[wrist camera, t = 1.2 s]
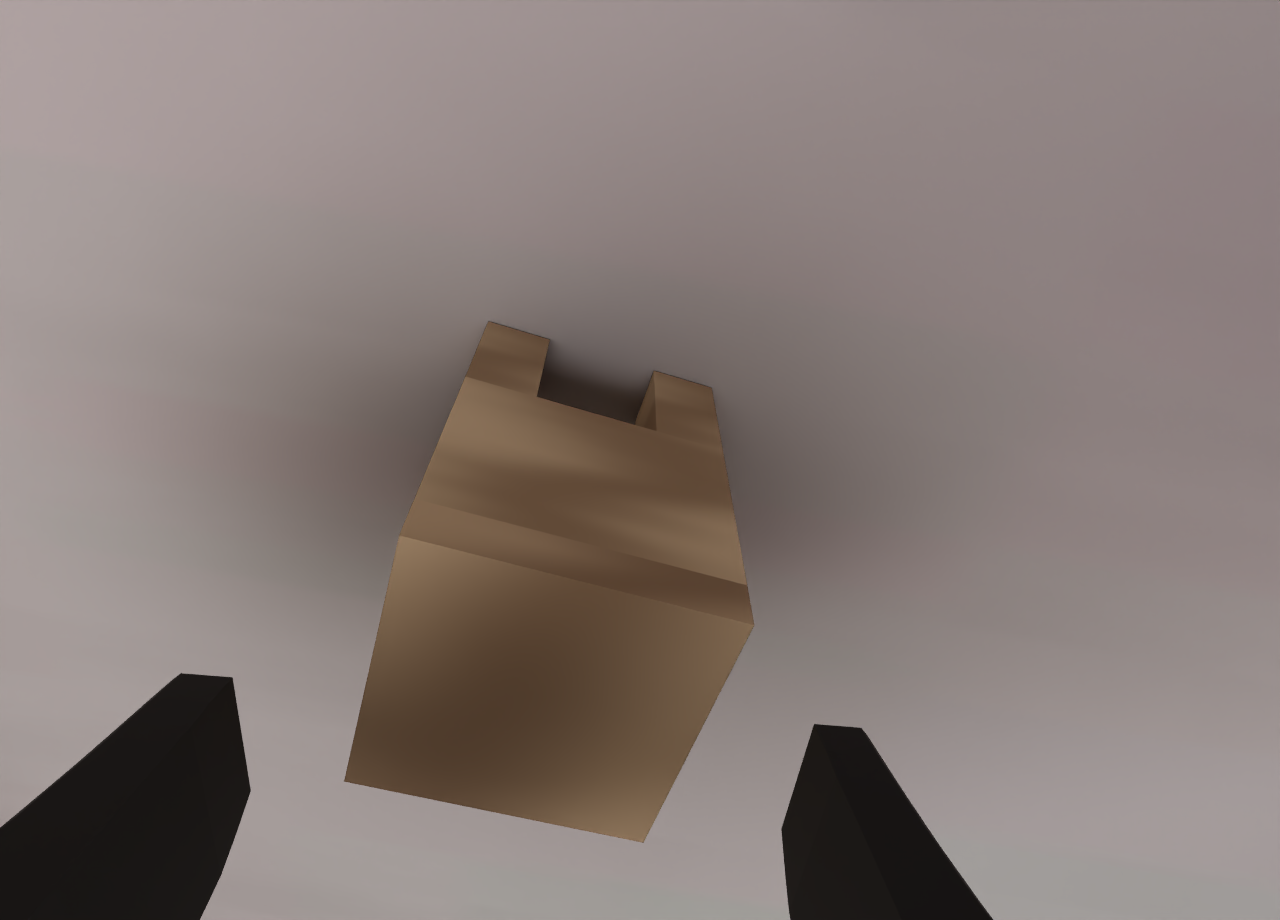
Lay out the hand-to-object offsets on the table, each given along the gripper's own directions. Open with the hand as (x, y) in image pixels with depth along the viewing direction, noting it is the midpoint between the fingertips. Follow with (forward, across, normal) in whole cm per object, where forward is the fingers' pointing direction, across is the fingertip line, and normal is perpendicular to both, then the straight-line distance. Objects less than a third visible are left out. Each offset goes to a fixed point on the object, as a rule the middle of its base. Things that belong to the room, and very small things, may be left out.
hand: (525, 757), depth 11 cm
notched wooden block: (+8, 0, 0) cm, 8 cm away
